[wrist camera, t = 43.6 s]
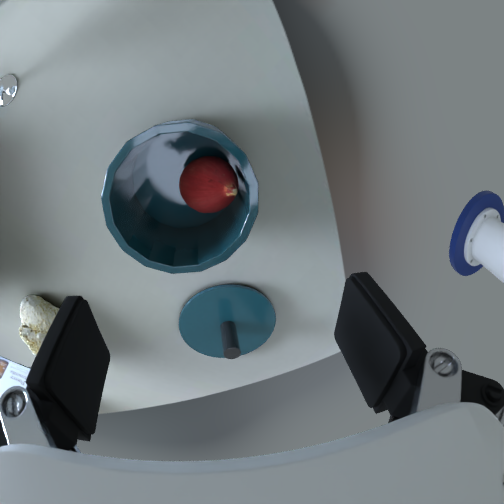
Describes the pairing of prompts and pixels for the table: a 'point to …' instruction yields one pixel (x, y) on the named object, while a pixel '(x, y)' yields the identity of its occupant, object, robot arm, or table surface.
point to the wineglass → (7, 89)
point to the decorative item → (35, 321)
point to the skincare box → (12, 375)
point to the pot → (175, 199)
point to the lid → (227, 321)
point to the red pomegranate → (208, 184)
